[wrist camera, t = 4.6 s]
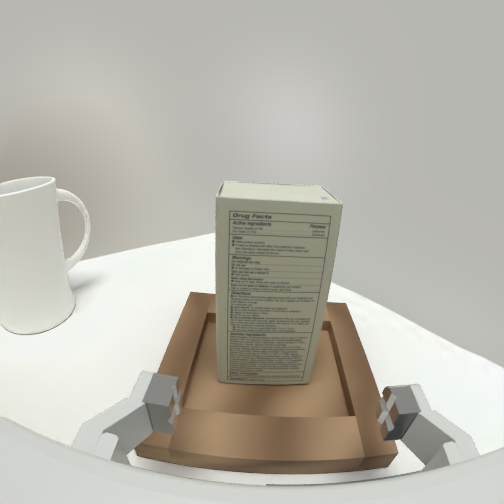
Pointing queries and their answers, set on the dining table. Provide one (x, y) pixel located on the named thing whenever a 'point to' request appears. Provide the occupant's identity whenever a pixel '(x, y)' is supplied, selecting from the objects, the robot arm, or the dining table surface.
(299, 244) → the skincare box
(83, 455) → the robot arm
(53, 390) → the dining table surface
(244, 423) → the walnut tray
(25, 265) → the mug
